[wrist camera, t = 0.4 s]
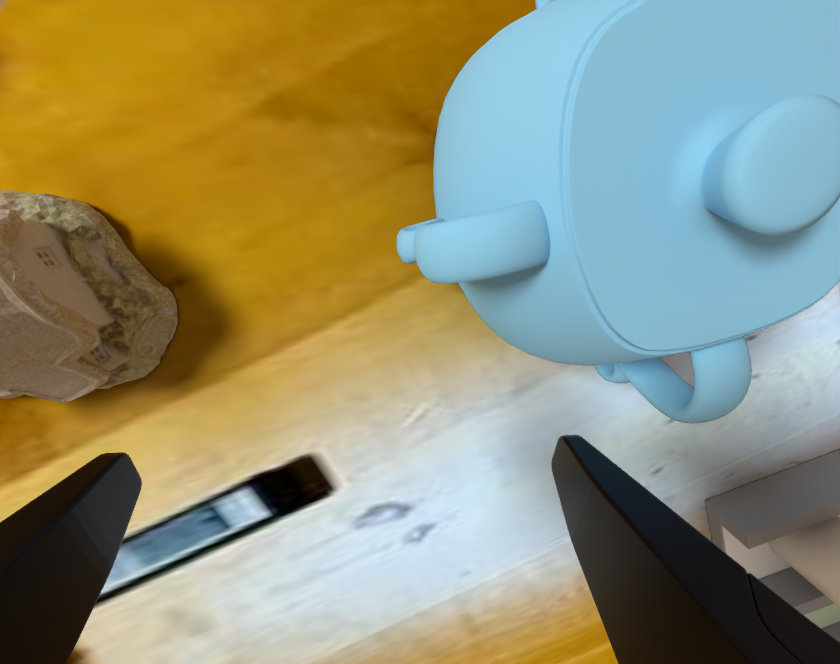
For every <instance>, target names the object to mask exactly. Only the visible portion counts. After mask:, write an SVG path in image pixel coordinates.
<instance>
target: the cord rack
mask: <svg viewBox="0 0 840 664" xmlns="http://www.w3.org/2000/svg"><path fill="white" fill-rule="evenodd" d="M705 503H706V509H707V515H708V520H709V526H710V531H711V537H712V543H714V544H715V545H716V546H717V547H719V548H720V549H721V550H722V551H724V552H725V553H726V554H727V555H729V556H730V557H731V558H732V559H734V560H735V561H736V562H737V563H738V564H740V565H741V566H742V567H743V568H745V569H746V571H747V573H751V574H752V575H754V576H755V577H756V578H757V579H759V580H760V581H761V582H762V583H764V584H765V585H766V586H767V587H768V588H770V589H771V590H772V591H773V592H775V593H776V594H777V595H779V596H780V597H781V598H782V599H784V600H785V601H786V602H787V603H789V604H790V605H791V606H793V607H794V608H795V609H796V610H798V611H799V612H800V613H802V614H803V615H804V616H805V617H807V618H808V619H809V620H810V621H812V622H813V623H815V624H816V625H817V626H819V627H820V628H821V629H823V630H824V631H825V632H827V633H828V634H829V635H831V636H832V637H833V638H835V639H836V640H837V641H839V642H840V607H839V606H838V605H836V604H835V603H834V602H833V601H832V600H830V599H829V598H828V597H827V596H826V595H824V594H823V593H822V592H821V591H820V590H818V589H817V588H816V587H815V586H814V585H813V584H811V583H810V582H809V581H808V580H807V579H805V578H804V577H803V576H802V575H801V574H799V573H798V572H797V571H796V570H795V569H793V568H792V567H791V566H790V565H789V564H787V563H786V562H785V561H784V560H783V559H781V558H780V557H779V556H778V555H777V554H775V553H774V552H773V551H772V550H771V548H770V546H769V543H768V542H770V541H772V540H775V539H777V538H780V537H783V536H785V535H788V534H791V533H793V532H796V531H799V530H801V529H804V528H806V527H809V526H812V525H814V524H817V523H820V522H822V521H825V520H828V519H830V518H833V517H835V516H838V515H839V516H840V449H839V450H836V451H834V452H831V453H828V454H826V455H823V456H820V457H818V458H815V459H813V460H810V461H807V462H805V463H802V464H799V465H797V466H794V467H791V468H789V469H786V470H784V471H781V472H778V473H776V474H773V475H770V476H768V477H765V478H763V479H760V480H757V481H755V482H752V483H749V484H747V485H744V486H742V487H739V488H736V489H734V490H731V491H728V492H726V493H723V494H720V495H718V496H715V497H713V498H710V499H707V500H705Z"/></svg>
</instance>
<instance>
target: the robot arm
mask: <svg viewBox="0 0 840 664" xmlns="http://www.w3.org/2000/svg"><path fill="white" fill-rule="evenodd" d="M552 472H553V476H554V480H555V483H556V487H557V491H558V494H559V498H560V502H561V505H562V509H563V513H564V516H565V520H566V524H567V527H568V531H569V534H570V538H571V541H572V543H573V546H574V549H575V552H576V554H577V557H578V560H579V562H580V565H581V567H582V570H583V573H584V575H585V578H586V580H587V583H588V586H589V588H590V591H591V593H592V596H593V599H594V601H595V604H596V606H597V609H598V612H599V614H600V617H601V619H602V622H603V625H604V627H605V630H606V632H607V635H608V638H609V640H610V643H611V645H612V648H613V651H614V653H615V656H616V658H617V661H618V664H840V642H839V641H837V640H836V639H835V638H833V637H832V636H831V635H829V634H828V633H827V632H825V631H824V630H823V629H821V628H820V627H819V626H817V625H816V624H815V623H813V622H812V621H810V620H809V619H808V618H807V617H805V616H804V615H803V614H802V613H800V612H799V611H798V610H796V609H795V608H794V607H793V606H791V605H790V604H789V603H787V602H786V601H785V600H784V599H782V598H781V597H780V596H779V595H777V594H776V593H775V592H773V591H772V590H771V589H770V588H768V587H767V586H766V585H765V584H764V583H762V582H761V581H760V580H759V579H757V578H756V577H755V576H754V575H752V574H751V573H747V571H746V569H745V568H743V567H742V566H741V565H740V564H738V563H737V562H736V561H735V560H734V559H732V558H731V557H730V556H729V555H727V554H726V553H725V552H724V551H722V550H721V549H720V548H719V547H717V546H716V545H715V544H714V543H712V542H711V541H710V540H709V539H707V538H706V537H705V536H704V535H703V534H701V533H700V532H699V531H698V530H696V529H695V528H694V527H693V526H691V525H690V524H689V523H688V522H686V521H685V520H684V519H683V518H681V517H680V516H679V515H678V514H676V513H675V512H674V511H673V510H672V509H670V508H669V507H668V506H667V505H665V504H664V503H663V502H662V501H660V500H659V499H658V498H657V497H655V496H654V495H653V494H652V493H650V492H649V491H648V490H647V489H645V488H644V487H643V486H642V485H641V484H639V483H638V482H637V481H636V480H634V479H633V478H632V477H631V476H629V475H628V474H627V473H626V472H624V471H623V470H622V469H621V468H619V467H618V466H617V465H616V464H614V463H613V462H612V461H611V460H610V459H608V458H607V457H606V456H605V455H603V454H602V453H601V452H600V451H598V450H597V449H596V448H595V447H593V446H592V445H591V444H590V443H588V442H587V441H586V440H585V439H583V438H582V437H580V436H578V435H565V436H561V437H560V438H559V439H558V442H557V445H556V448H555V452H554V455H553V458H552ZM141 485H142V482H141V477H140V475H139V473H138V471H137V470H136V468H135V466H134V464H133V462H132V460H131V458H130V457H129V455H128V454H126V453H105V454H101V455H99V456H98V457H96V458H95V459H93V460H92V461H90V462H89V463H87V464H86V465H84V466H83V467H81V468H80V469H78V470H77V471H75V472H74V473H72V474H71V475H70V476H68V477H67V478H65V479H64V480H62V481H61V482H59V483H58V484H56V485H55V486H53V487H52V488H50V489H49V490H47V491H46V492H44V493H43V494H42V495H40V496H39V497H37V498H36V499H34V500H33V501H31V502H30V503H28V504H27V505H25V506H24V507H22V508H21V509H19V510H18V511H16V512H15V513H14V514H12V515H11V516H9V517H8V518H6V519H5V520H3V521H2V522H0V664H67V662H68V660H69V658H70V656H71V654H72V652H73V649H74V647H75V645H76V643H77V641H78V639H79V637H80V635H81V633H82V631H83V629H84V626H85V624H86V622H87V620H88V618H89V616H90V614H91V612H92V610H93V608H94V605H95V603H96V601H97V599H98V597H99V595H100V593H101V591H102V589H103V587H104V584H105V582H106V580H107V578H108V576H109V574H110V571H111V569H112V567H113V564H114V562H115V559H116V557H117V554H118V551H119V549H120V546H121V543H122V540H123V538H124V535H125V532H126V529H127V527H128V524H129V521H130V518H131V516H132V513H133V510H134V507H135V505H136V502H137V499H138V496H139V494H140V490H141Z"/></svg>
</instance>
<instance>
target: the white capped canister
mask: <svg viewBox="0 0 840 664" xmlns="http://www.w3.org/2000/svg"><path fill="white" fill-rule="evenodd" d="M768 543H769V546H770V548H771V550H772V551H773V552H774V553H775V554H777V555H778V556H779V557H780V558H781V559H783V560H784V561H785V562H786V563H787V564H789V565H790V566H791V567H792V568H793V569H795V570H796V571H797V572H798V573H799V574H801V575H802V576H803V577H804V578H805V579H807V580H808V581H809V582H810V583H811V584H813V585H814V586H815V587H816V588H817V589H818V590H820V591H821V592H822V593H823V594H824V595H826V596H827V597H828V598H829V599H830V600H832V601H833V602H834V603H835V604H836V605H838V606H839V607H840V516H839V515H838V516H835V517H833V518H830V519H828V520H825V521H822V522H820V523H817V524H814V525H812V526H809V527H806V528H804V529H801V530H799V531H796V532H793V533H791V534H788V535H785V536H783V537H780V538H777V539H775V540H772V541H770V542H768Z"/></svg>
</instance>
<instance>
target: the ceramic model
mask: <svg viewBox="0 0 840 664" xmlns="http://www.w3.org/2000/svg"><path fill="white" fill-rule="evenodd" d="M177 311H178V310H177V304H176V300H175V297H174V296H173V294H172V293H171V291H170V290H169V289H168V288H167V287H165V286H163V285H162V284H160V283H159V282H158V281H157V280H156V279H155V278H154V277H153V276H152V275H151V274H150V273H149V272H147V270H146V268H145V267H143V265H142V264H141V263H140V262H139V261H138V260H137V259H136V258H135V256H134V255H133V254H132V253H131V251H129V249H128V247H127V246H126V245H125V244H124V242H123V240H122V239H121V237H120V236H119V235H118V233H117V232H116V230H115V229H114V228H113V227H112V225H111V224H110V223H109V222H108V220H107V219H106V218H105V217H104V216H103V215H102V214H101V213H99V212H97V211H96V210H94V209H93V208H92V207H90V206H89V205H88V204H85V203H82V202H79V201H75V200H72V199H69V198H64V197H59V196H55V195H50V194H35V193H26V192H19V191H11V190H0V399H11V398H16V397H20V396H22V395H29V396H32V397H37V398H43V399H48V400H52V401H56V402H66V401H72V400H74V399H76V398H78V397H81V396H84V395H86V394H88V393H90V392H91V391H93V390H95V389H109V388H110V387H112V386H115V385H118V384H122V383H125V382H128V381H133V380H136V379H140V378H143V377H145V376H146V375H147V374H148V373H150V372H151V371H153V369H154V368H155V367H156V366H157V365H158V364H159V363H160V359H161V356H162V355H163V354H164V353H165V350H166V348H167V344H168V343H169V342H170V341H171V340H172V337H173V334H174V333H175V332H176V331H175V330H176V327H177V323H178V319H177V317H178V314H177Z"/></svg>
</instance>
